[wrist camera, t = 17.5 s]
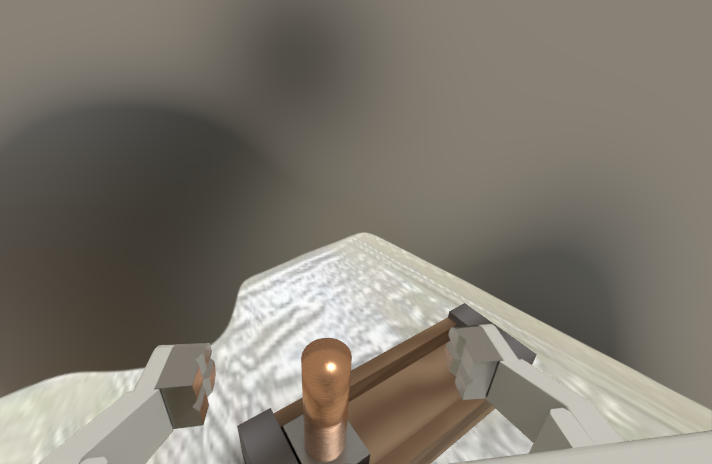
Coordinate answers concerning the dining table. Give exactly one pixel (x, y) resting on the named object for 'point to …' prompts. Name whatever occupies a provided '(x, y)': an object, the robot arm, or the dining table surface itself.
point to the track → (393, 402)
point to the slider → (325, 408)
